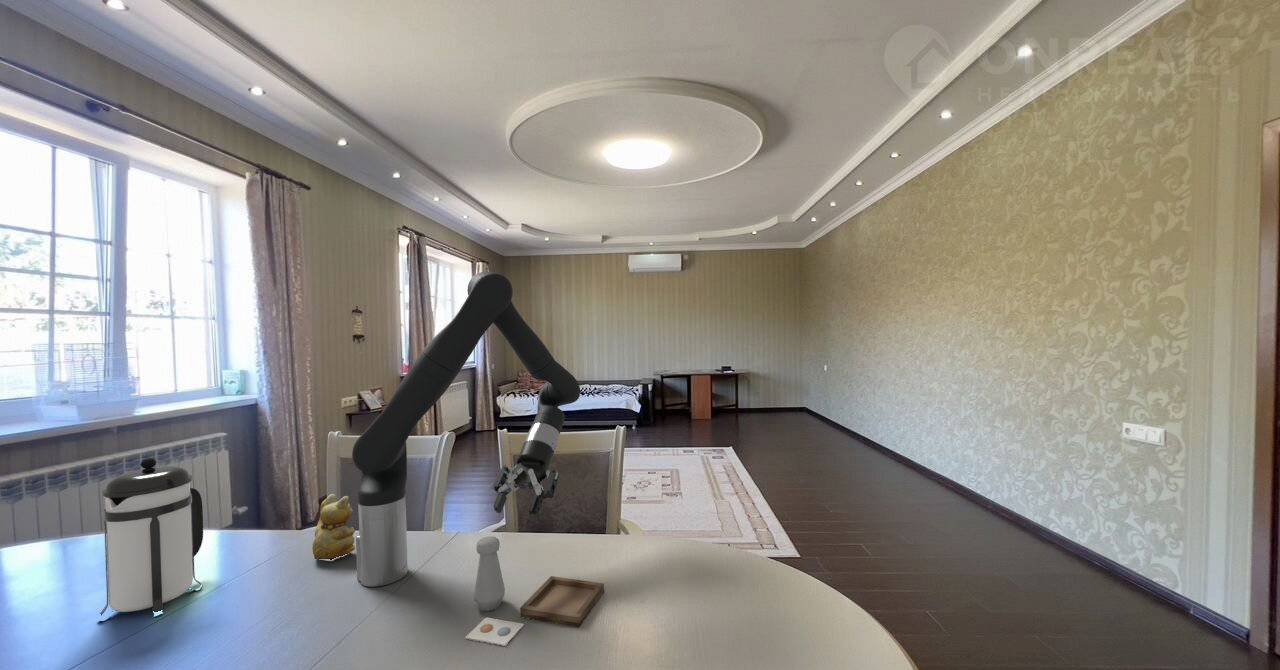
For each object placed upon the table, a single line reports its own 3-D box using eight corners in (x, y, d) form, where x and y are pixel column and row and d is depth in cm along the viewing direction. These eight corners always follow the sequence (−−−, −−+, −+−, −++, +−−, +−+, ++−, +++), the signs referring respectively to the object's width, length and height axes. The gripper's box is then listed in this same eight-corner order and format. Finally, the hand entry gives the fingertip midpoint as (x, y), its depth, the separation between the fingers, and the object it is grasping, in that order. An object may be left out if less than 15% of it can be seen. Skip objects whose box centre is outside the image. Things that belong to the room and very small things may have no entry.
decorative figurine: (363, 552, 119) (361, 491, 119) (334, 568, 111) (332, 503, 111) (330, 549, 121) (328, 490, 121) (301, 564, 113) (298, 501, 113)
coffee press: (213, 599, 99) (208, 454, 98) (96, 637, 87) (90, 472, 87) (204, 572, 110) (200, 443, 110) (100, 602, 99) (95, 457, 99)
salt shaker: (495, 615, 90) (493, 546, 90) (468, 613, 91) (466, 544, 91) (510, 598, 95) (508, 533, 95) (484, 596, 97) (482, 532, 97)
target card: (465, 638, 83) (465, 636, 83) (486, 618, 89) (486, 616, 89) (505, 646, 81) (505, 643, 81) (524, 625, 86) (524, 622, 86)
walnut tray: (520, 617, 89) (520, 607, 89) (551, 584, 100) (550, 576, 100) (579, 627, 85) (579, 617, 85) (604, 592, 97) (604, 583, 97)
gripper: (506, 437, 113) (477, 502, 102) (561, 439, 108) (537, 507, 98) (519, 454, 118) (493, 518, 107) (571, 456, 114) (550, 523, 103)
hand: (514, 513), depth 102 cm, fingers open, 8 cm apart
